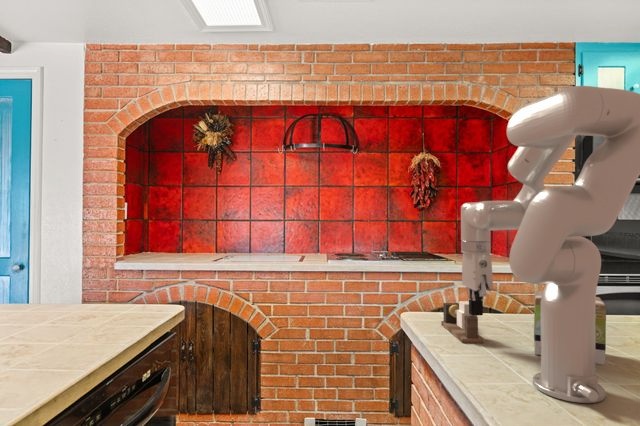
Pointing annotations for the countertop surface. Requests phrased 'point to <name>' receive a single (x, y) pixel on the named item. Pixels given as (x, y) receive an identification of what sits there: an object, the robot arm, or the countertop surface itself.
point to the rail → (461, 334)
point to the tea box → (599, 328)
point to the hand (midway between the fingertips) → (475, 314)
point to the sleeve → (463, 313)
